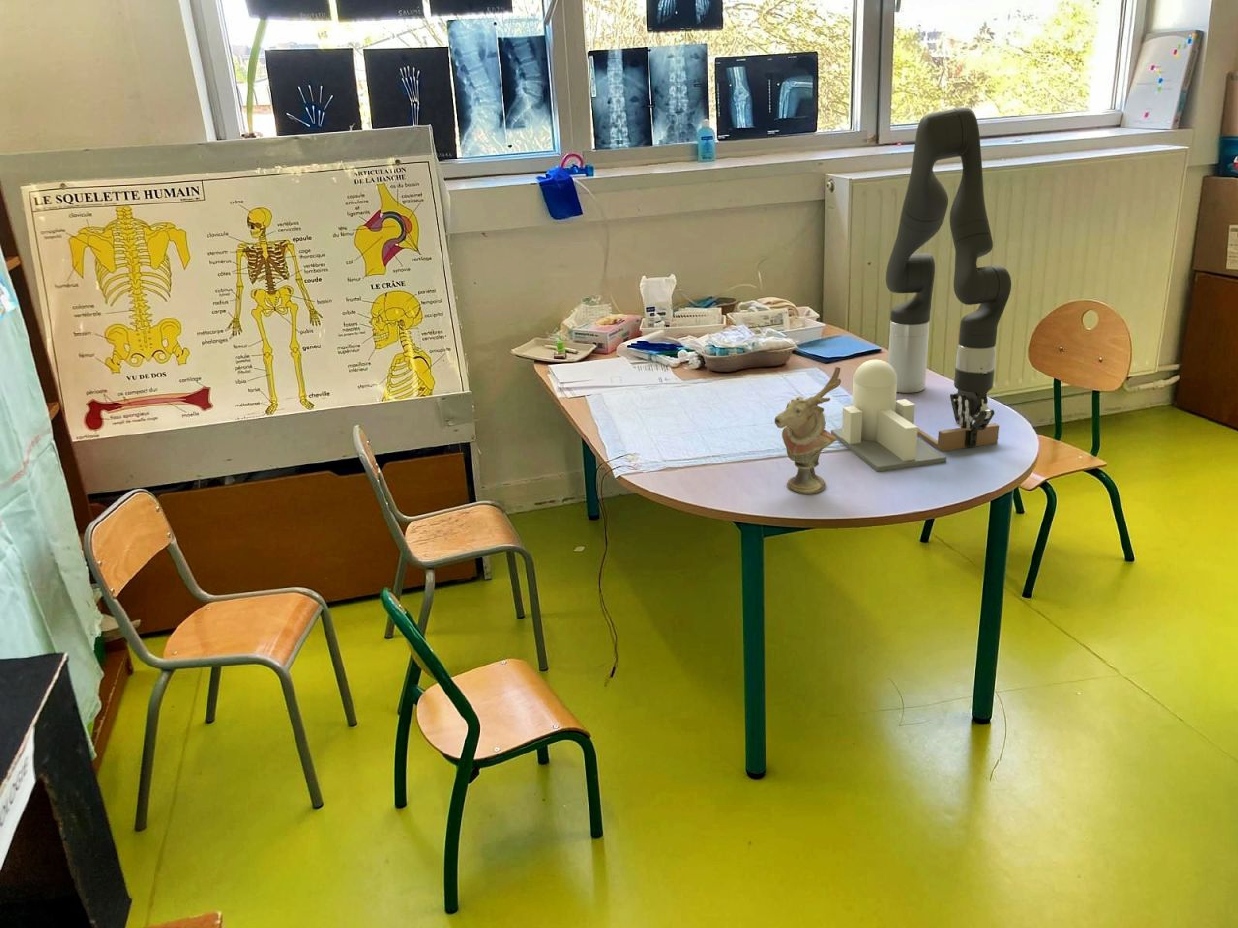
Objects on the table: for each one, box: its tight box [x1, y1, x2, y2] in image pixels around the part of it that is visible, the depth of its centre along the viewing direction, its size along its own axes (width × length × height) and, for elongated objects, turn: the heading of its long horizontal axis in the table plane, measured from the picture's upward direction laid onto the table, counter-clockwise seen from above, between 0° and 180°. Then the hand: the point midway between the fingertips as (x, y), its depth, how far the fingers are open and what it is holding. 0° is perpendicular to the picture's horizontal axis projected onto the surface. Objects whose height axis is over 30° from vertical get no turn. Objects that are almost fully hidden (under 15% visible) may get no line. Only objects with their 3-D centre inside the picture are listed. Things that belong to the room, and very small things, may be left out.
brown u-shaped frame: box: [917, 420, 1000, 452], centre depth 200 cm, size 14×13×4 cm
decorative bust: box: [774, 366, 842, 495], centre depth 175 cm, size 11×13×25 cm
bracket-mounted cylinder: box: [830, 359, 947, 472], centre depth 194 cm, size 22×15×18 cm, turn 12°
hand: (967, 444), depth 195 cm, fingers closed on brown u-shaped frame, 1 cm apart
